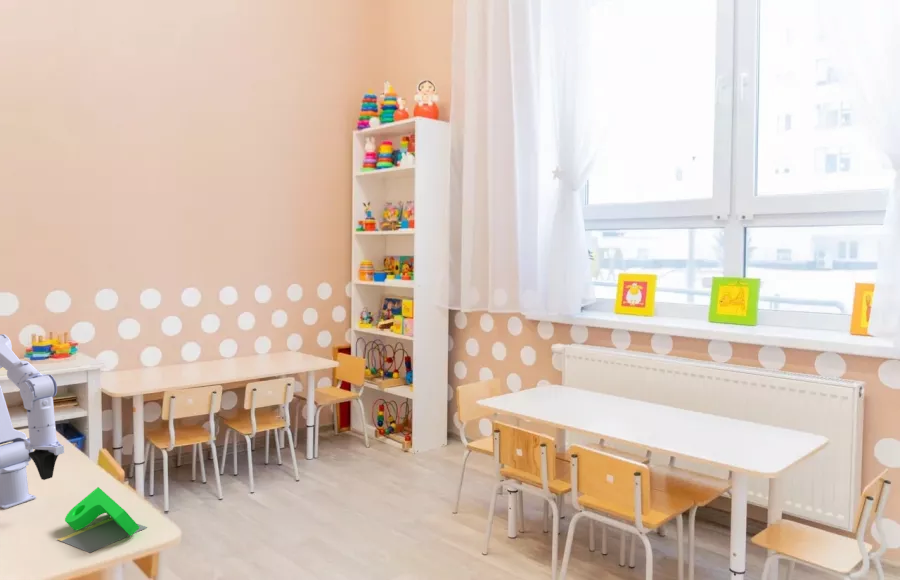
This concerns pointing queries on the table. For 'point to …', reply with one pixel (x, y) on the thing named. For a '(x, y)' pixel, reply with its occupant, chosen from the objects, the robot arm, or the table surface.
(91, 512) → the bracket
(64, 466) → the table surface
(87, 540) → the mat
